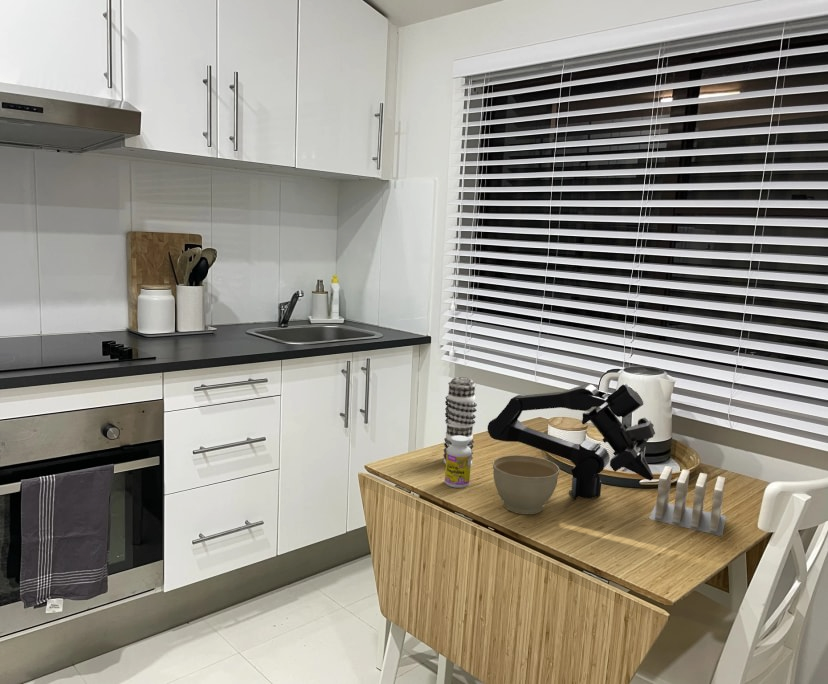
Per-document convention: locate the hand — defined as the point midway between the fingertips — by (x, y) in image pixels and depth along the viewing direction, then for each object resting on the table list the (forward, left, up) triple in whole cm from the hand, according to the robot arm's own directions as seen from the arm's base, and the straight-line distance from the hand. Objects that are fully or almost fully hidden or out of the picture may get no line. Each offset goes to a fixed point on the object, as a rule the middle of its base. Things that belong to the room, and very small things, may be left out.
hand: (652, 479), depth 161 cm
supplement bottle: (-45, +18, -9) cm, 49 cm away
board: (+7, -5, -9) cm, 12 cm away
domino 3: (+9, -6, -8) cm, 13 cm away
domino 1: (+2, -2, -8) cm, 8 cm away
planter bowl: (-31, +3, -9) cm, 32 cm away
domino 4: (+12, -9, -8) cm, 17 cm away
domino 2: (+6, -4, -8) cm, 10 cm away
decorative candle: (-42, +35, -9) cm, 56 cm away
